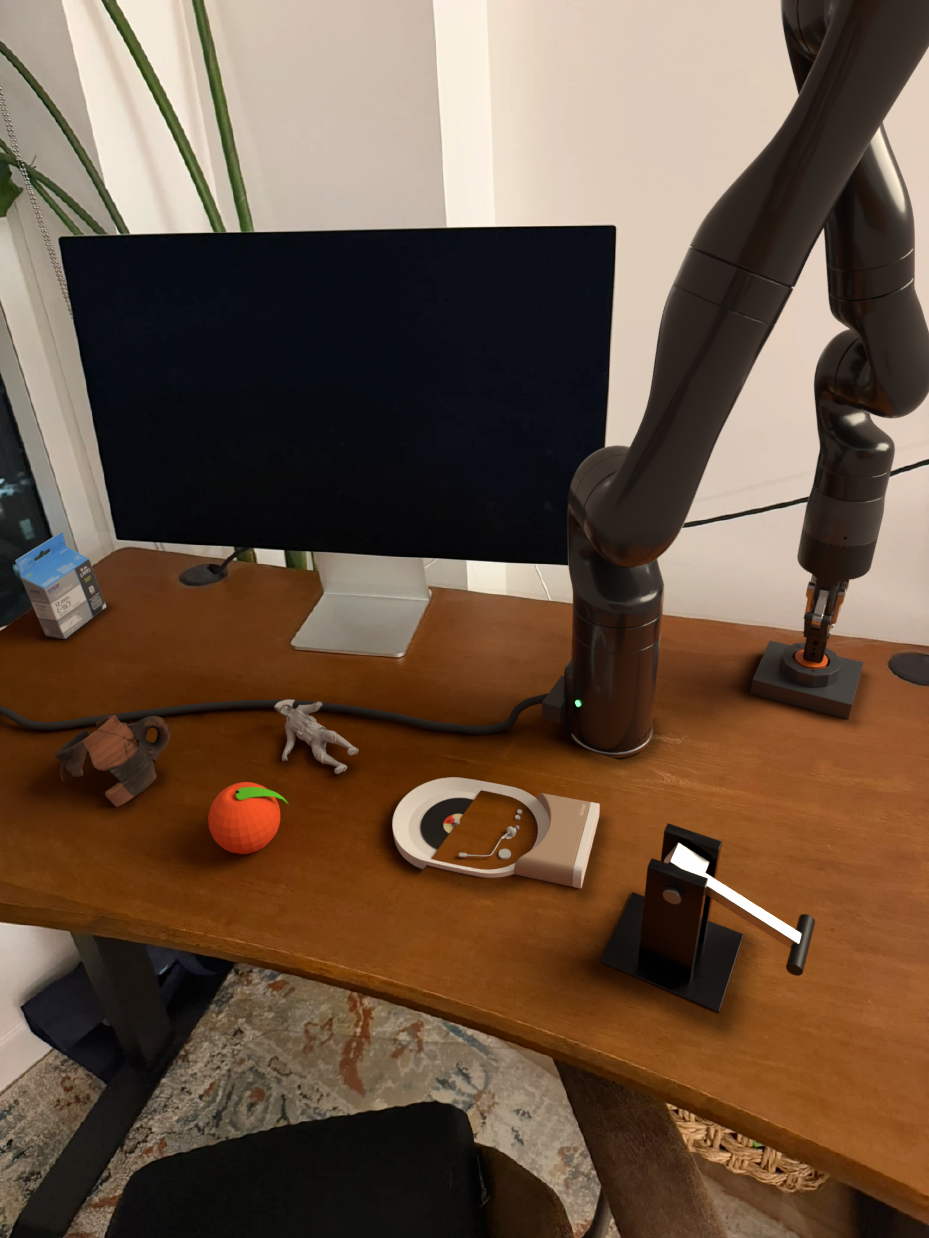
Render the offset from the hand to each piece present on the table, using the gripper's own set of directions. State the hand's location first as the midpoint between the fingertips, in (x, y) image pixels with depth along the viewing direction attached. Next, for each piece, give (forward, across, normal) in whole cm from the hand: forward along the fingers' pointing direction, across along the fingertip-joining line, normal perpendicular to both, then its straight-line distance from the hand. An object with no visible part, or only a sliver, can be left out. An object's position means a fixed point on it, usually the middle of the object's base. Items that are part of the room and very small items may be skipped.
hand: (813, 657), depth 100 cm
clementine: (+4, -49, +44) cm, 66 cm away
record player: (+4, -38, +23) cm, 45 cm away
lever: (-4, -43, -1) cm, 43 cm away
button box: (+4, 0, 0) cm, 4 cm away
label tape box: (+4, -29, +96) cm, 100 cm away
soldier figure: (+4, -35, +47) cm, 59 cm away
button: (+2, 0, 0) cm, 2 cm away
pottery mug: (+4, -48, +64) cm, 80 cm away
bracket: (+4, -43, +3) cm, 43 cm away
